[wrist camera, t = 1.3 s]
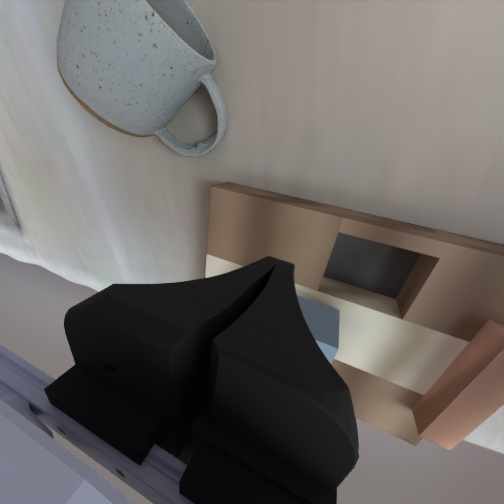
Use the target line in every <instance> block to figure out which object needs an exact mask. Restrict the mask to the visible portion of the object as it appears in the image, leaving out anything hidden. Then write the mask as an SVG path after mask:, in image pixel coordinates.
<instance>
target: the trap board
mask: <svg viewBox="0 0 504 504" xmlns="http://www.w3.org/2000/svg"><path fill="white" fill-rule="evenodd" d="M267 256H271V257H274V258H277V259H280V260H283V261H286V262H290V263H293V264H294V265H295V270H294V282H295V288H296V293H297V295H298V296H301V297H304V298H307V299H309V300H312V301H315V302H318V303H321V304H324V305H327V306H329V307H332V308H335V309H338V310H340V320H339V349H338V351H337V353H336V355H335V357H334V360H333V362H332V364H331V365H332V366H333V367H334V369H335V370H336V371H337V372H338V374H339V375H340V376H341V378H342V379H343V380H344V382H345V383H346V384H347V386H348V387H349V389H350V393H351V398H352V403H353V407H354V413H355V418H357V419H359V420H361V421H364V422H366V423H368V424H370V425H372V426H374V427H376V428H378V429H381V430H383V431H385V432H387V433H389V434H391V435H394V436H396V437H398V438H400V439H402V440H404V441H406V442H408V443H411V444H413V445H415V446H416V445H417V444H418V443H419V442H420V441H421V440H422V439H423V438H424V439H426V440H428V441H430V442H433V443H435V444H437V445H439V446H442V447H444V448H446V449H448V450H451V449H452V448H453V447H455V446H456V445H457V444H458V443H459V442H460V441H462V440H463V439H464V438H465V437H466V436H467V435H469V434H470V433H471V432H472V431H473V430H474V429H476V428H477V427H478V426H479V425H480V424H481V423H483V422H484V421H485V420H486V419H487V418H488V417H490V416H491V415H492V414H493V413H494V412H495V411H497V410H498V409H499V408H500V407H501V406H502V405H504V245H501V244H497V243H492V242H488V241H484V240H479V239H475V238H470V237H466V236H462V235H457V234H453V233H449V232H444V231H440V230H435V229H431V228H427V227H422V226H418V225H414V224H409V223H405V222H400V221H396V220H392V219H387V218H383V217H378V216H374V215H370V214H365V213H361V212H357V211H352V210H348V209H343V208H339V207H335V206H330V205H326V204H321V203H317V202H313V201H308V200H304V199H300V198H295V197H291V196H286V195H282V194H278V193H273V192H269V191H265V190H260V189H256V188H251V187H247V186H243V185H238V184H234V183H229V182H227V183H223V184H218V185H214V186H211V191H210V207H209V224H208V240H207V257H206V273H205V278H208V277H212V276H217V275H220V274H224V273H227V272H230V271H233V270H235V269H238V268H241V267H244V266H246V265H249V264H251V263H253V262H256V261H258V260H260V259H262V258H264V257H267Z"/></svg>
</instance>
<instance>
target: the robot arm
mask: <svg viewBox="0 0 504 504" xmlns="http://www.w3.org/2000/svg"><path fill="white" fill-rule="evenodd" d="M294 270H295V265H294V264H293V263H290V262H286V261H283V260H280V259H277V258H274V257H271V256H267V257H264V258H262V259H260V260H258V261H256V262H253V263H251V264H249V265H246V266H244V267H241V268H238V269H235V270H233V271H230V272H227V273H224V274H220V275H217V276H212V277H208V278H203V279H197V280H191V281H184V282H175V283H162V284H112V285H111V286H109V287H107V288H105V289H104V290H102V291H100V292H98V293H96V294H95V295H93V296H91V297H90V298H88V299H86V300H84V301H82V302H80V303H79V304H77V305H75V306H73V307H71V308H70V309H69V310H68V311H67V313H66V315H65V319H64V328H65V333H66V336H67V340H68V343H69V345H70V349H71V352H72V355H73V358H74V361H75V364H76V365H74V366H73V367H72V368H70V369H69V370H68V371H67V372H65V373H64V374H63V375H61V376H60V377H59V378H58V379H56V380H55V379H54V378H52V377H51V376H49V375H47V374H46V373H45V372H43V371H41V370H40V369H38V368H37V367H35V366H34V365H32V364H31V363H29V362H27V361H26V360H24V359H23V358H21V357H20V356H18V355H17V354H15V353H13V352H12V351H10V350H9V349H7V348H6V347H4V346H2V345H1V344H0V504H134V503H133V502H132V501H131V500H130V499H129V498H127V497H126V496H125V495H124V494H123V493H121V492H120V491H119V490H118V489H117V488H116V487H115V486H113V485H112V484H111V483H110V482H109V481H107V480H106V479H105V478H104V477H103V476H102V475H100V474H99V473H98V472H97V471H96V470H94V469H93V468H92V467H90V466H89V465H88V464H86V463H85V462H84V461H82V460H81V459H80V458H78V457H77V456H76V455H74V454H73V453H71V452H70V451H69V450H68V449H66V448H65V447H64V446H62V445H61V444H59V443H58V442H57V441H55V440H54V437H53V434H52V432H51V430H50V429H49V428H48V427H47V426H46V425H48V426H49V427H50V428H51V429H53V430H54V431H56V432H57V433H58V434H60V435H61V436H62V437H64V438H65V439H66V440H68V441H69V442H71V443H72V444H73V445H75V446H76V447H77V448H79V449H80V450H81V451H83V452H84V453H85V454H87V455H88V456H90V457H91V458H92V459H94V460H95V461H96V462H98V463H99V464H100V465H102V466H103V467H104V468H106V469H107V470H109V471H110V472H111V473H113V474H114V475H115V476H117V477H118V478H120V479H121V480H122V481H124V482H125V483H126V484H128V485H129V486H130V487H132V488H133V489H134V490H136V491H137V492H139V493H140V494H141V495H143V496H144V497H145V498H147V499H148V500H149V501H151V502H152V503H154V504H336V500H337V487H338V486H339V485H340V484H341V482H342V481H343V480H344V479H345V477H347V475H348V474H349V473H350V472H351V471H352V469H353V468H354V467H355V465H356V462H357V460H358V458H359V454H358V448H359V444H358V431H357V424H356V418H355V413H354V407H353V403H352V398H351V393H350V389H349V387H348V386H347V384H346V383H345V382H344V380H343V379H342V378H341V376H340V375H339V374H338V372H337V371H336V370H335V369H334V367H333V366H332V365H331V363H330V362H329V361H328V359H327V358H326V356H325V355H324V353H323V352H322V350H321V349H320V347H319V346H318V344H317V342H316V340H315V338H314V336H313V335H312V333H311V331H310V329H309V327H308V325H307V323H306V320H305V318H304V316H303V313H302V310H301V308H300V304H299V301H298V297H297V293H296V288H295V282H294ZM44 423H45V424H46V425H45V424H44Z"/></svg>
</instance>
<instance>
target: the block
mask: <svg viewBox="0 0 504 504" xmlns="http://www.w3.org/2000/svg"><path fill="white" fill-rule="evenodd" d="M297 297H298V301H299V304H300V308H301V310H302V313H303V316H304V318H305V320H306V323H307V325H308V327H309V329H310V331H311V333H312V335H313V336H314V338H315V340H316V342H317V344H318V346H319V347H320V349H321V350H322V352H323V353H324V355H325V356H326V358H327V359H328V361H329V362H330V363H331V364H332V362H333V360H334V357H335V355H336V353H337V351H338V349H339V320H340V310H338V309H335V308H332V307H329V306H327V305H324V304H321V303H318V302H315V301H312V300H309V299H307V298H304V297H301V296H298V295H297Z"/></svg>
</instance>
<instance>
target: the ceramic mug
mask: <svg viewBox="0 0 504 504" xmlns="http://www.w3.org/2000/svg"><path fill="white" fill-rule="evenodd" d="M216 64H217V56H216V51H215V48H214V45H213V44H212V42H211V40H210V38H209V36H208V34H207V32H206V30H205V28H204V26H203V25H202V23H201V22H200V20H199V18H198V17H197V15H196V13H195V12H194V11H193V9H192V8H191V6H190V5H189V3H188V2H187V1H186V0H65V5H64V9H63V14H62V18H61V22H60V27H59V32H58V38H57V65H58V71H59V73H60V75H61V78H62V80H63V82H64V84H65V86H66V87H67V89H68V90H69V92H70V93H71V94H72V95H73V97H74V98H75V99H76V100H77V101H78V102H79V103H80V104H81V105H82V106H83V108H85V109H86V110H87V111H88V112H89V113H90V114H92V115H93V116H94V117H96V118H97V119H98V120H100V121H101V122H103V123H104V124H106V125H107V126H109V127H111V128H113V129H115V130H117V131H119V132H122V133H124V134H128V135H132V136H137V137H148V136H151V135H154V134H156V135H157V136H158V137H159V138H160V139H161V140H162V141H163V142H164V143H165V144H166V145H167V146H169V147H170V148H171V149H172V150H174V151H176V152H178V153H179V154H182V155H184V156H190V157H198V156H202V155H205V154H206V153H208V152H210V151H212V150H213V149H214V148H215V147H216V146H217V145H218V144H219V142H220V141H221V139H222V138H223V136H224V133H225V131H226V127H227V113H226V107H225V104H224V101H223V98H222V95H221V93H220V91H219V89H218V87H217V85H216V83H215V81H214V80H213V78H212V75H211V72H212V71H213V69H214V68H215V66H216ZM202 83H203V84H204V86H205V87H206V88H207V90H208V92H209V95H210V97H211V99H212V101H213V104H214V107H215V109H216V113H217V132H216V133H215V134H214V135H213V136H212V137H210V138H209V139H208V140H206V141H204V142H199V143H198V144H197V146H196V147H193V146H189V145H186V144H185V143H183V142H182V141H180V140H178V139H177V138H176V137H175V136H174V135H172V134H171V132H170V131H169V130H168V129H167V128H166V125H167V124H168V123H169V122H170V121H171V119H172V118H173V117H174V115H175V114H176V113H177V111H178V110H179V109H180V108H181V106H182V105H183V104H184V103H185V102H186V101H187V100H188V99H189V98H190V97H191V96H192V95H193V93H194V92H195V91H196V90H197V89H198V88H199V87H200V85H201V84H202Z"/></svg>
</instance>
